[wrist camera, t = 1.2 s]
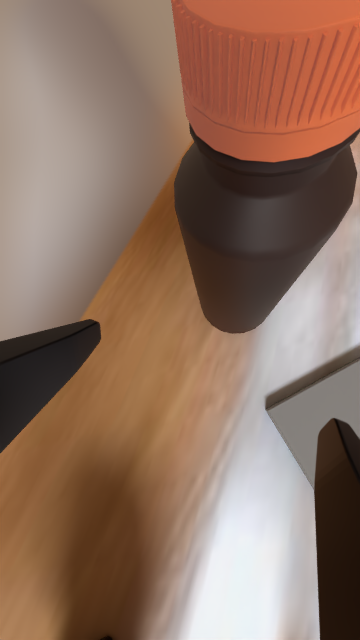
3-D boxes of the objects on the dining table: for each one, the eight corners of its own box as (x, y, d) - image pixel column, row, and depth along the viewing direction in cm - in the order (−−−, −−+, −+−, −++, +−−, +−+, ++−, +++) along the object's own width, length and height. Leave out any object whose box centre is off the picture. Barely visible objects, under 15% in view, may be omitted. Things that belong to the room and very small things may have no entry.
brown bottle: (216, 262, 24) (206, -155, 5) (280, 284, 23) (606, -216, 4) (190, 318, 23) (58, 58, 4) (254, 345, 22) (516, 115, 3)
